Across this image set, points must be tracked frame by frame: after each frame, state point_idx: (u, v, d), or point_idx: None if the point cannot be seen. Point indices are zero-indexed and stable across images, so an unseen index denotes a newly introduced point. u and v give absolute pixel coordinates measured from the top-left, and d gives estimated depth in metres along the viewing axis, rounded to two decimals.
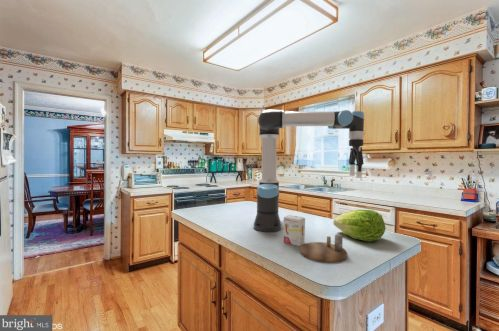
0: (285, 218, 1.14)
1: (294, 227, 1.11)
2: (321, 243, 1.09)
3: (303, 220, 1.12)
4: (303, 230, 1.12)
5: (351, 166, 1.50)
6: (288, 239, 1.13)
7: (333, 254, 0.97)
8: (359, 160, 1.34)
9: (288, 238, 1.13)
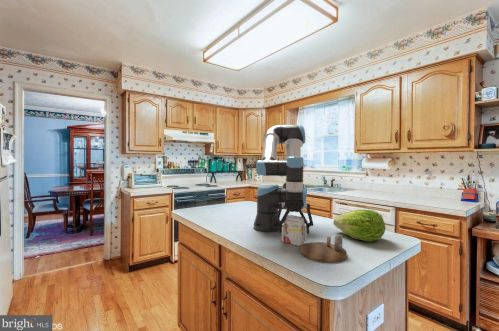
0: None
1: (294, 227, 1.11)
2: (321, 243, 1.09)
3: (303, 220, 1.12)
4: (303, 230, 1.12)
5: None
6: (288, 239, 1.13)
7: (333, 254, 0.97)
8: (276, 218, 1.16)
9: (288, 238, 1.13)
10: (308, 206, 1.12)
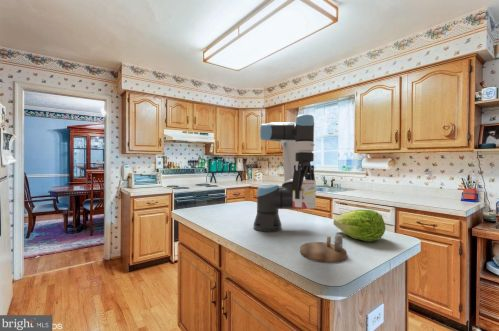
0: None
1: (310, 189, 1.05)
2: (321, 243, 1.09)
3: None
4: None
5: None
6: (303, 204, 1.04)
7: (333, 254, 0.97)
8: (293, 184, 1.01)
9: (303, 204, 1.04)
10: (313, 167, 1.10)
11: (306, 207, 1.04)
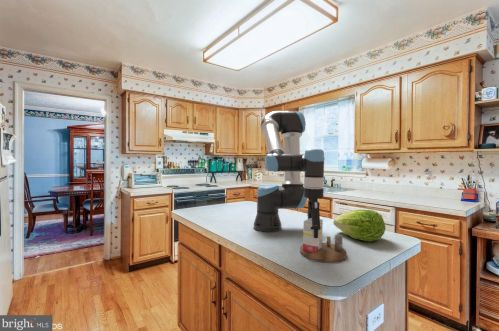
0: None
1: (320, 230, 1.02)
2: None
3: None
4: None
5: None
6: (316, 246, 1.00)
7: (333, 254, 0.97)
8: (314, 223, 0.93)
9: (316, 246, 1.00)
10: None
11: (318, 249, 1.01)
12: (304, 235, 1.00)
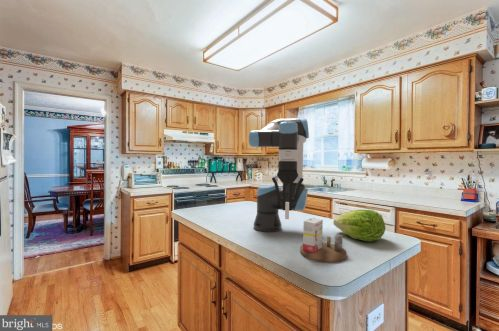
0: (315, 224, 0.98)
1: (320, 230, 1.02)
2: None
3: None
4: None
5: None
6: (316, 246, 1.00)
7: (333, 254, 0.97)
8: None
9: (316, 246, 1.00)
10: (301, 180, 1.01)
11: (318, 249, 1.01)
12: (304, 235, 1.00)
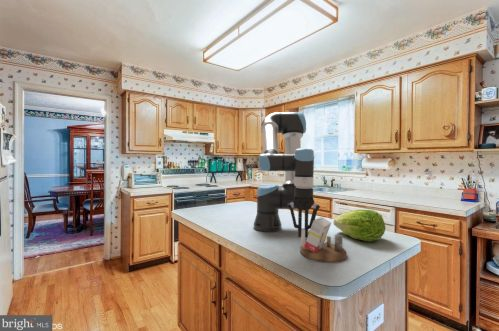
0: (324, 227, 0.96)
1: (326, 232, 1.01)
2: None
3: None
4: None
5: None
6: (318, 247, 1.00)
7: (333, 254, 0.97)
8: None
9: (318, 246, 0.99)
10: (317, 207, 1.00)
11: None
12: (310, 234, 0.99)
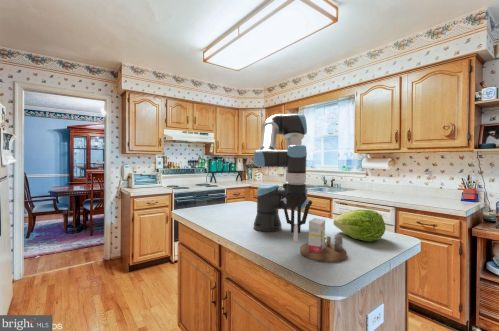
0: (321, 225, 0.98)
1: (324, 230, 1.02)
2: None
3: None
4: None
5: None
6: (321, 247, 1.00)
7: (333, 254, 0.97)
8: None
9: (321, 246, 1.00)
10: (309, 203, 1.01)
11: (322, 249, 1.01)
12: (310, 236, 0.99)
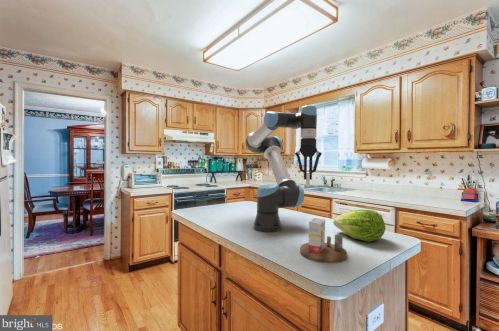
0: (321, 225, 0.98)
1: (324, 230, 1.02)
2: None
3: None
4: None
5: None
6: (321, 247, 1.00)
7: (333, 254, 0.97)
8: (299, 167, 1.25)
9: (321, 246, 1.00)
10: (319, 154, 1.22)
11: (322, 249, 1.01)
12: (310, 236, 0.99)
